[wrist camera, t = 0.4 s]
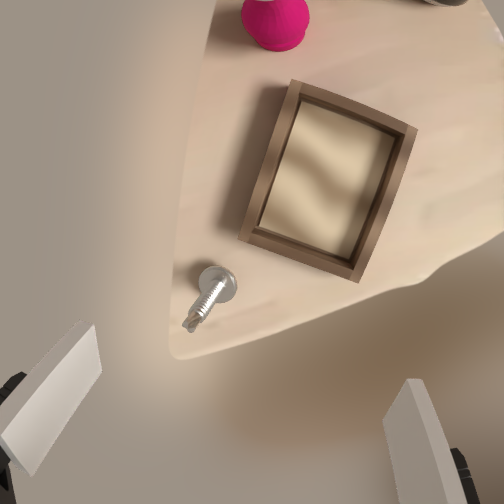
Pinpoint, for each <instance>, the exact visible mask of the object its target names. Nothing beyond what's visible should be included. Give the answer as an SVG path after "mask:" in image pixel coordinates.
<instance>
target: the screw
mask: <svg viewBox="0 0 504 504" xmlns="http://www.w3.org/2000/svg"><path fill="white" fill-rule="evenodd" d="M198 284H199V289H200V291H201V295H200V296H199V297H198V299H197V300H196V301H195V303H194V304H193V305H192V306H191V308H190V310H189V313H188V317H187V318H186V319H185V321H184V322H183V324H182V326H183V327H184V328H186V329H187V330H188V332H190V333H192V332H194V331H195V329H196V328H197V326H198V325H199V323H202V322H203V321H204V320H205V319H206V317H207V316H208V314H209V312H210V311H211V309H212V307H213V306H214V304H215V303H225V302H227V301H229V300H231V299H232V298H233V297H234V295H235V293H236V291H237V280H236V278H235V276H234V275H233V273H232V272H231V271H230V270H228V269H227V268H225V267H222V266H210V267H208V268H206V269H205V270H204V271H203V272H202V273H201V275H200V277H199V282H198Z"/></svg>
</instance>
